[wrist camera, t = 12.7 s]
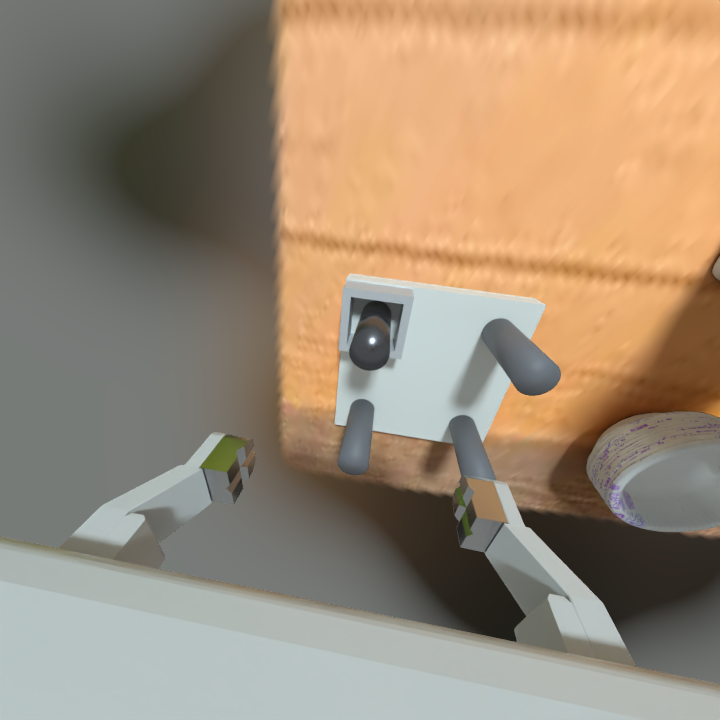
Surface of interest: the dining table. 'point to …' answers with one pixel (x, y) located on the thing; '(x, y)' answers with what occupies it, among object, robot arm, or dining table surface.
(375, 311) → the stool leg
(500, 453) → the dining table surface
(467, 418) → the stool seat
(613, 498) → the paper bowls
